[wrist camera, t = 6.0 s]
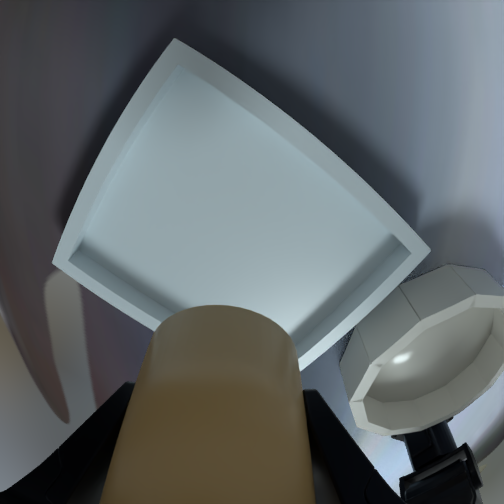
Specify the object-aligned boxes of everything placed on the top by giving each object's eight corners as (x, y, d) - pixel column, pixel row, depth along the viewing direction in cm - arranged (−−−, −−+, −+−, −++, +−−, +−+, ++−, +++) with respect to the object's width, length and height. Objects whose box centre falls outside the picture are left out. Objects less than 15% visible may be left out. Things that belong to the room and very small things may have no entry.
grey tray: (415, 234, 19) (431, 250, 17) (271, 370, 24) (272, 392, 22) (184, 45, 14) (174, 37, 12) (68, 247, 19) (52, 263, 17)
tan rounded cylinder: (328, 353, 10) (370, 561, 4) (239, 419, 12) (234, 578, 5) (198, 274, 9) (133, 552, 2) (127, 366, 10) (72, 542, 4)
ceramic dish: (514, 320, 23) (534, 344, 19) (403, 416, 29) (413, 444, 25) (453, 225, 18) (485, 252, 15) (302, 369, 24) (308, 408, 21)
